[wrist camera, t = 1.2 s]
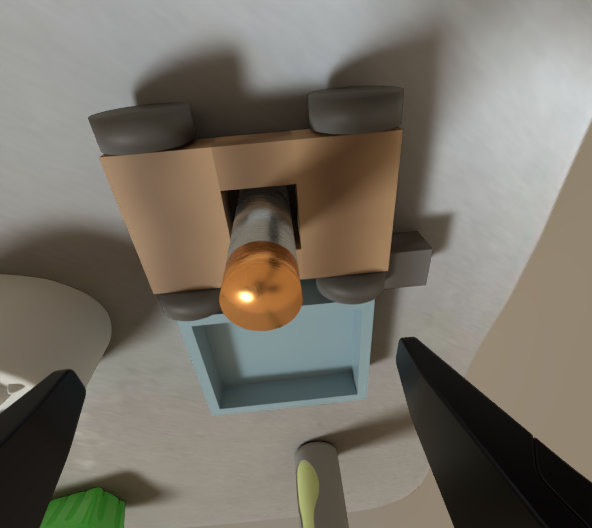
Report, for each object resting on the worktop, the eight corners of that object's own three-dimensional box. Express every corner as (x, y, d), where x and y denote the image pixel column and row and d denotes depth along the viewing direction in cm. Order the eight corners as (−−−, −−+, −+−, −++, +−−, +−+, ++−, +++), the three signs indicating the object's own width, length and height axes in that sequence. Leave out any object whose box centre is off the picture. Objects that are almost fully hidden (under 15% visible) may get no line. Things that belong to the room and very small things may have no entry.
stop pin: (286, 170, 19) (300, 263, 11) (290, 216, 21) (304, 326, 13) (235, 175, 19) (211, 271, 11) (243, 220, 21) (227, 334, 13)
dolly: (441, 78, 17) (488, 87, 14) (412, 265, 24) (439, 304, 20) (111, 107, 17) (68, 124, 13) (175, 288, 24) (157, 333, 20)
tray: (363, 272, 24) (374, 298, 21) (358, 369, 30) (366, 399, 28) (185, 290, 24) (175, 318, 21) (216, 385, 30) (211, 415, 27)
